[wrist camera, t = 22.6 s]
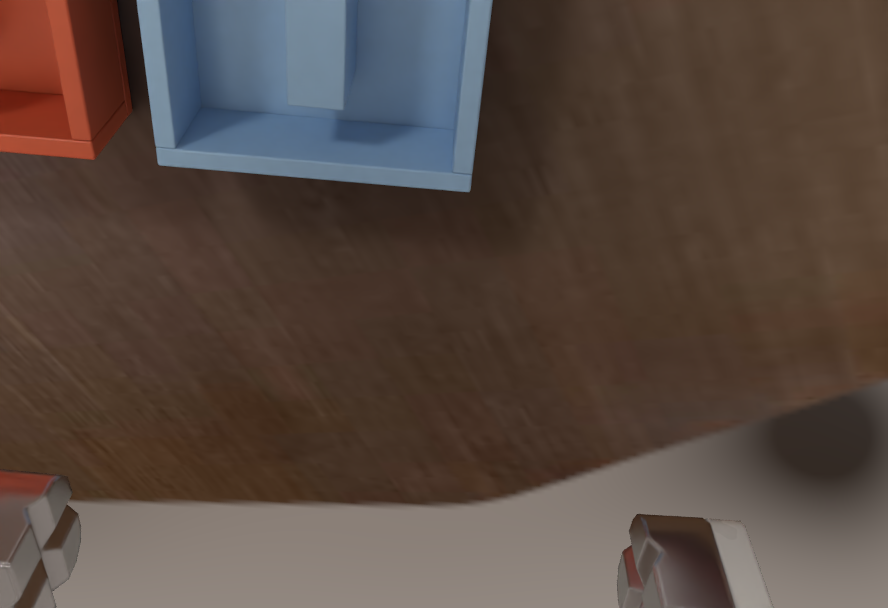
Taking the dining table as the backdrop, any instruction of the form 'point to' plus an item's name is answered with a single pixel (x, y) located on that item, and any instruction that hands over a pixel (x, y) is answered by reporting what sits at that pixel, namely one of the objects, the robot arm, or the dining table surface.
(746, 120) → the dining table surface
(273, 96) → the blue bin
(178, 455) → the dining table surface
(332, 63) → the blue spoon
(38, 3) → the red bin
